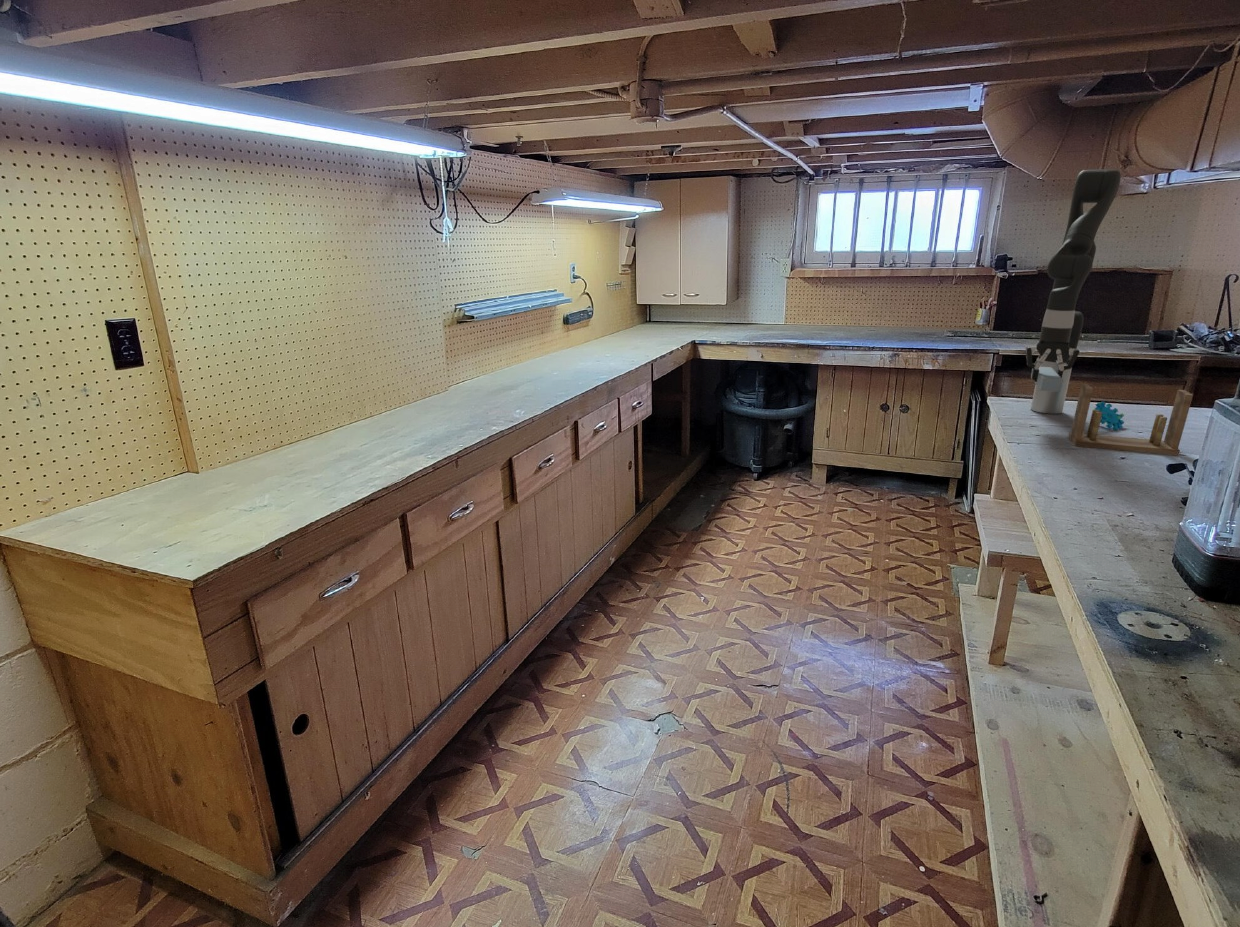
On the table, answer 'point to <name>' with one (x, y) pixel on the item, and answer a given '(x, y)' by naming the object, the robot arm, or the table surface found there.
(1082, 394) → the stand
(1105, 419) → the gear
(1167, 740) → the table surface
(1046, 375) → the grey rectangular block
